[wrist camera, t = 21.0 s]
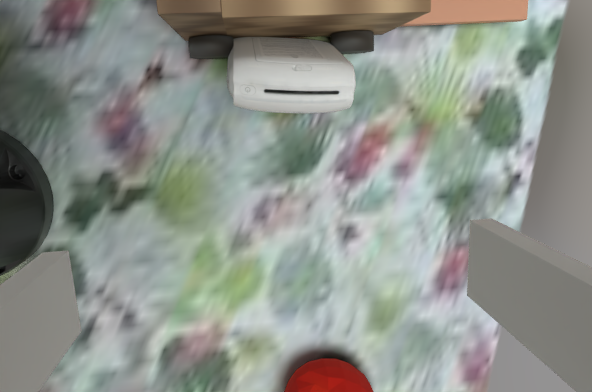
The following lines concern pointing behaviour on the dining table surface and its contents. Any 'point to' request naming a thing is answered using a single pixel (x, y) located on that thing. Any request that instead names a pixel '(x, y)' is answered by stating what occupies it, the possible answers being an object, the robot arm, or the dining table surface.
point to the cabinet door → (472, 12)
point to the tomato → (328, 377)
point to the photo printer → (289, 75)
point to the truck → (286, 21)
